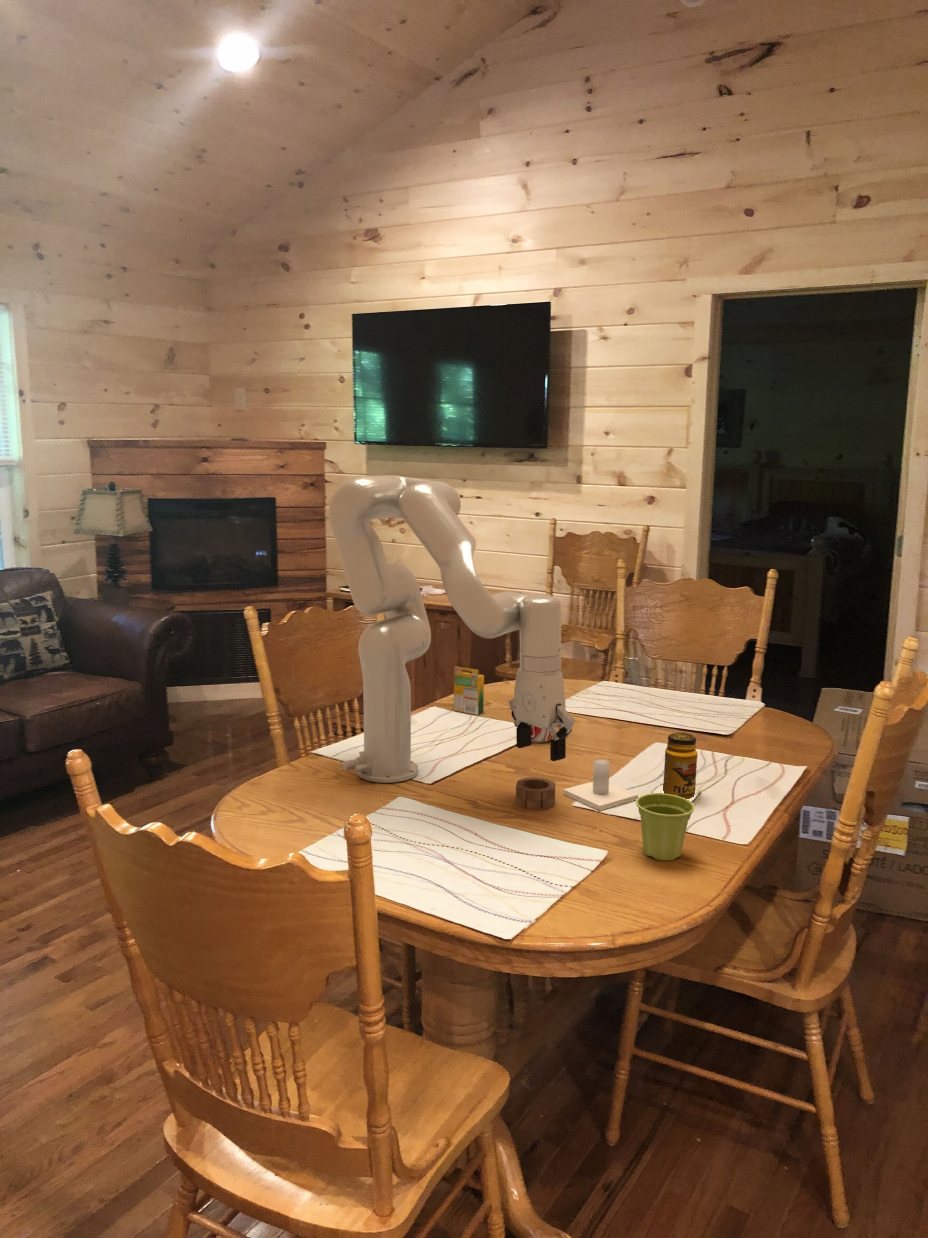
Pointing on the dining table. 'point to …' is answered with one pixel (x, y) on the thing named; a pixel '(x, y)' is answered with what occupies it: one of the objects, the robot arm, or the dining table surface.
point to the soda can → (540, 734)
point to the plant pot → (663, 824)
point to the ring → (535, 793)
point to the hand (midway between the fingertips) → (540, 753)
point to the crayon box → (468, 691)
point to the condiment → (680, 765)
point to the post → (600, 790)
